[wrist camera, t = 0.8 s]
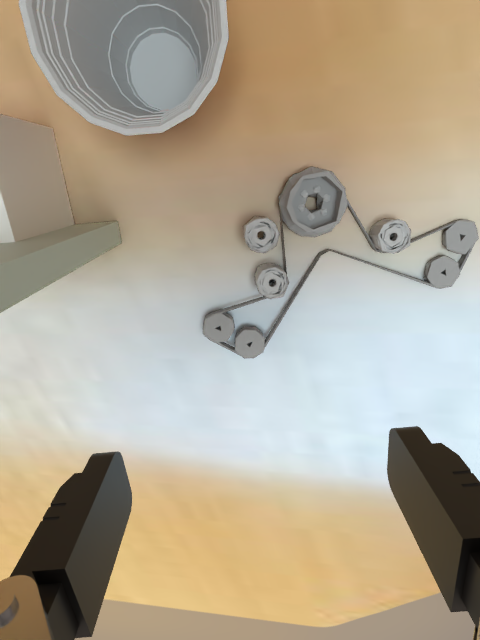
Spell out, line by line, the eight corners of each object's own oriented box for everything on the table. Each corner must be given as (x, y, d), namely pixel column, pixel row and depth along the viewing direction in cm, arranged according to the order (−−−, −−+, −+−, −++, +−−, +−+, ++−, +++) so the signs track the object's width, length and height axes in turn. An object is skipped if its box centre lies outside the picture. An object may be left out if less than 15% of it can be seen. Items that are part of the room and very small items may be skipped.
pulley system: (161, 227, 36) (220, 363, 40) (151, 230, 31) (218, 383, 36) (441, 114, 34) (472, 270, 38) (474, 99, 29) (505, 279, 33)
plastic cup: (127, 165, 33) (70, 158, 22) (75, 19, 29) (-25, -79, 18) (246, 128, 32) (252, 102, 21) (209, -27, 28) (191, -161, 17)
